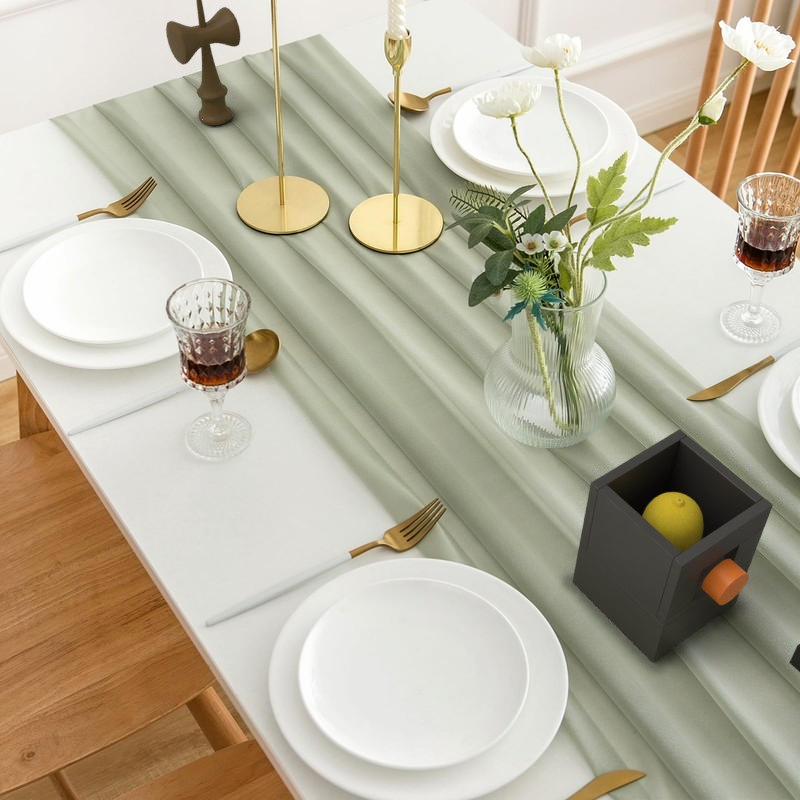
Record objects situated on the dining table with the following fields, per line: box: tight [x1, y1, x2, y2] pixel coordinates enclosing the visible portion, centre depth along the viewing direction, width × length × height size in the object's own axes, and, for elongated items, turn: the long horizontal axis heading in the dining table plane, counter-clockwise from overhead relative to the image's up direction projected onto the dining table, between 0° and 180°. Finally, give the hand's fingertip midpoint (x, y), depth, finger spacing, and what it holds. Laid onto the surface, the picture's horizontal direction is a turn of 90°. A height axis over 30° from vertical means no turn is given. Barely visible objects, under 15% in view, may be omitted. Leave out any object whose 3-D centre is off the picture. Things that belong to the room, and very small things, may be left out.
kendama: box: [165, 0, 241, 126], centre depth 158 cm, size 6×10×20 cm, turn 124°
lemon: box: [642, 492, 704, 553], centre depth 97 cm, size 6×6×8 cm
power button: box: [702, 559, 750, 605], centre depth 94 cm, size 2×4×4 cm, turn 125°
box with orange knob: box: [572, 428, 774, 663], centre depth 99 cm, size 11×11×15 cm
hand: (799, 649), depth 89 cm, fingers closed
